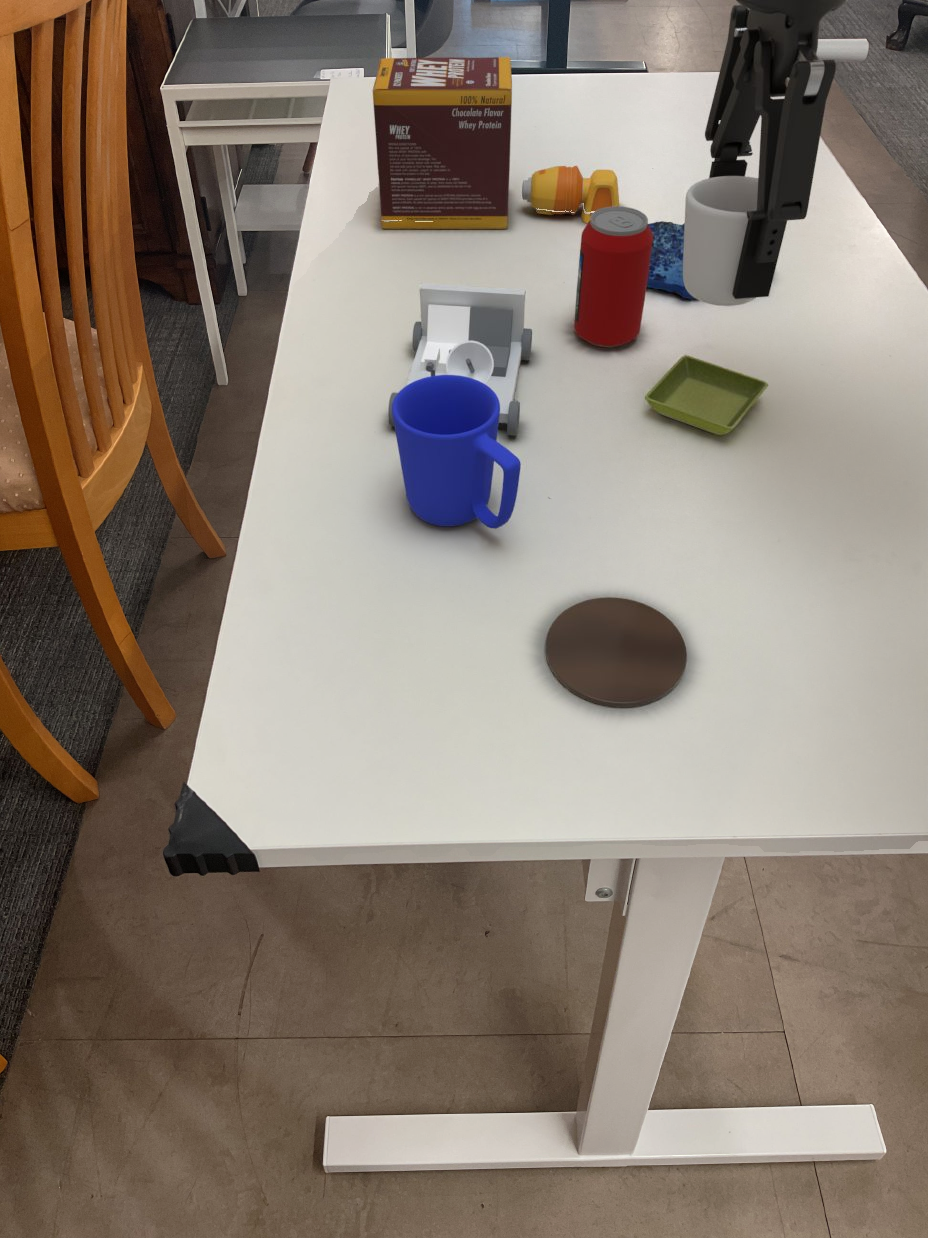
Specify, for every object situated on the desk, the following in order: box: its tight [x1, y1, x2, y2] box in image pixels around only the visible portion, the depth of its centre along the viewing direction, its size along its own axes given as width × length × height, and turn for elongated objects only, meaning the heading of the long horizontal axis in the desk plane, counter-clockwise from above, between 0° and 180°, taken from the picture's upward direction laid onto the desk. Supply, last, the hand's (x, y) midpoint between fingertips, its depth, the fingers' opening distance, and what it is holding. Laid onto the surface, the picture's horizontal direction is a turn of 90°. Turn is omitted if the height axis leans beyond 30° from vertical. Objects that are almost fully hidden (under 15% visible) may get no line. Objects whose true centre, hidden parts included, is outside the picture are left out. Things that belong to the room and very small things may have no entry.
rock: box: [646, 220, 695, 300], centre depth 104 cm, size 15×17×2 cm
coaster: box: [545, 596, 688, 708], centre depth 67 cm, size 10×10×1 cm
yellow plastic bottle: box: [521, 165, 620, 224], centre depth 113 cm, size 5×6×12 cm
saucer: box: [644, 354, 769, 436], centre depth 86 cm, size 9×9×2 cm
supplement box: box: [372, 56, 513, 230], centre depth 110 cm, size 10×15×16 cm
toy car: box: [387, 283, 533, 436], centre depth 85 cm, size 18×10×12 cm
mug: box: [392, 375, 522, 529], centre depth 74 cm, size 8×12×10 cm
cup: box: [683, 175, 758, 307], centre depth 76 cm, size 11×8×8 cm
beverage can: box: [573, 205, 653, 348], centre depth 92 cm, size 7×7×12 cm
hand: (731, 266), depth 77 cm, fingers closed on cup, 8 cm apart
